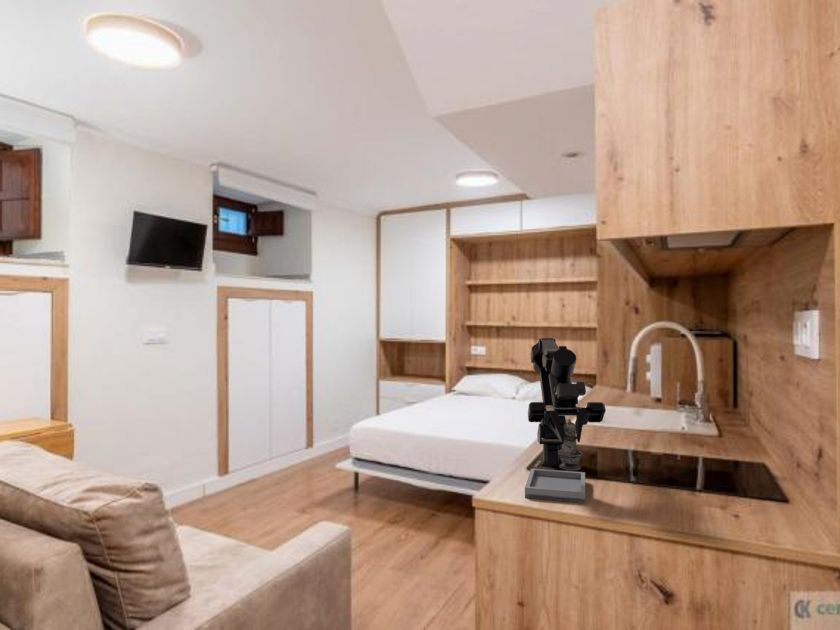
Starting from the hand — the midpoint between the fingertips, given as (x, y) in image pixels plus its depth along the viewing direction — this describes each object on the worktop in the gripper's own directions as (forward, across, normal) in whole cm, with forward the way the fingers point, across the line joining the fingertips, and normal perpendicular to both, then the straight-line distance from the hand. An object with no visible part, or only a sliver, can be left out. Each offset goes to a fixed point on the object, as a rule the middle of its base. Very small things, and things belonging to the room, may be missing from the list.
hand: (570, 441), depth 125 cm
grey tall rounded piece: (+4, 0, +6) cm, 7 cm away
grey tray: (+7, -3, +12) cm, 14 cm away
